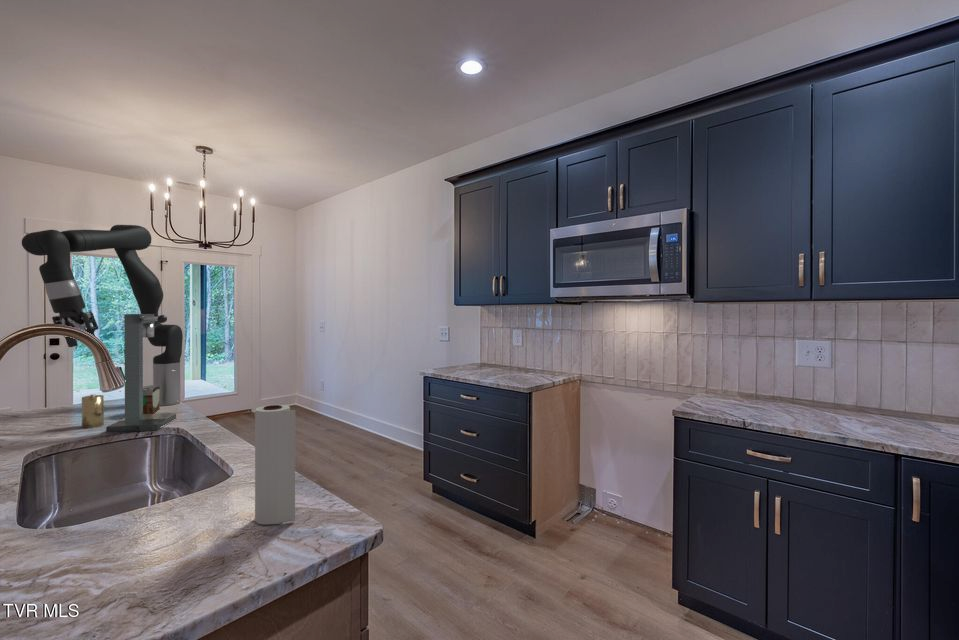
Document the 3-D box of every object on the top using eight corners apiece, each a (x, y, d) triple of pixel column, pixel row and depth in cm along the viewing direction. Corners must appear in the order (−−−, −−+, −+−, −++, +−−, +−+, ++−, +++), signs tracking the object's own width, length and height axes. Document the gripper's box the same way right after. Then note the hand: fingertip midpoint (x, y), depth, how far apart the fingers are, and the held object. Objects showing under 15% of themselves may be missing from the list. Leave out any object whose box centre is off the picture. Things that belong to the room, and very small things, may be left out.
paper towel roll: (252, 516, 83) (252, 405, 83) (285, 508, 87) (285, 402, 86) (259, 531, 77) (259, 413, 77) (295, 522, 81) (295, 408, 81)
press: (130, 421, 152) (129, 313, 151) (183, 418, 156) (183, 314, 156) (106, 433, 137) (105, 314, 137) (165, 429, 142) (165, 314, 141)
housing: (87, 424, 148) (87, 393, 147) (107, 423, 149) (107, 393, 149) (77, 428, 142) (77, 396, 142) (97, 427, 144) (97, 396, 144)
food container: (141, 411, 168) (141, 385, 168) (160, 409, 170) (160, 384, 170) (131, 418, 157) (131, 390, 156) (152, 416, 159) (152, 389, 159)
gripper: (94, 291, 136) (112, 340, 139) (62, 295, 139) (79, 343, 143) (68, 295, 129) (86, 347, 132) (34, 300, 132) (53, 350, 136)
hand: (83, 345), depth 137 cm, fingers open, 8 cm apart
